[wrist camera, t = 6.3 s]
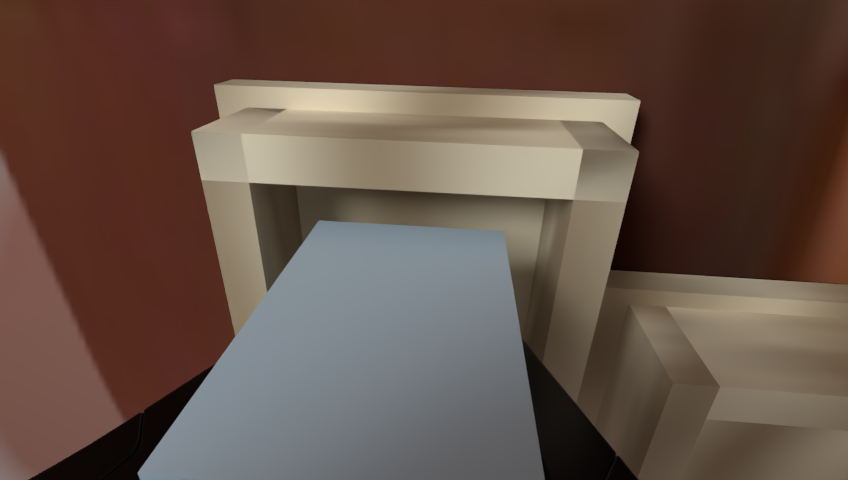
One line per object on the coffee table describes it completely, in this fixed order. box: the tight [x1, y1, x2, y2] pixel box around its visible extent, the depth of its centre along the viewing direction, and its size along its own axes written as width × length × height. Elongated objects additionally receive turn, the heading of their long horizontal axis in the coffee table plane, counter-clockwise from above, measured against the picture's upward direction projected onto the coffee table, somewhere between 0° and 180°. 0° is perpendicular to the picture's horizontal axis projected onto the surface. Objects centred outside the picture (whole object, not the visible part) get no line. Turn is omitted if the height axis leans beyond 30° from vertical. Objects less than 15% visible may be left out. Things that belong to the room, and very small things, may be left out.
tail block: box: [138, 220, 545, 480], centre depth 8 cm, size 4×4×6 cm
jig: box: [191, 79, 848, 480], centre depth 14 cm, size 22×21×4 cm
